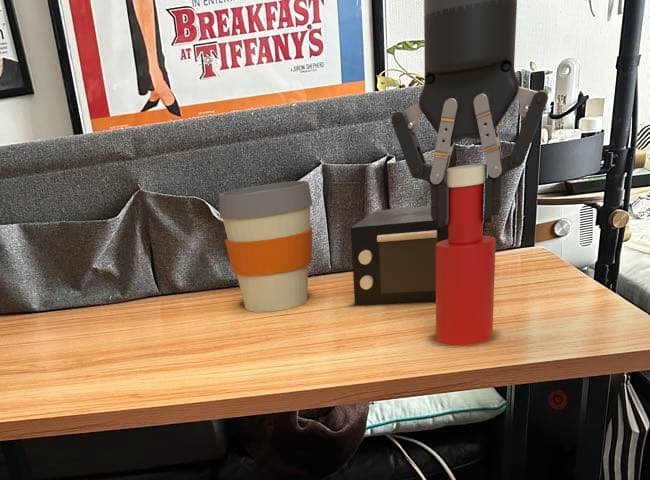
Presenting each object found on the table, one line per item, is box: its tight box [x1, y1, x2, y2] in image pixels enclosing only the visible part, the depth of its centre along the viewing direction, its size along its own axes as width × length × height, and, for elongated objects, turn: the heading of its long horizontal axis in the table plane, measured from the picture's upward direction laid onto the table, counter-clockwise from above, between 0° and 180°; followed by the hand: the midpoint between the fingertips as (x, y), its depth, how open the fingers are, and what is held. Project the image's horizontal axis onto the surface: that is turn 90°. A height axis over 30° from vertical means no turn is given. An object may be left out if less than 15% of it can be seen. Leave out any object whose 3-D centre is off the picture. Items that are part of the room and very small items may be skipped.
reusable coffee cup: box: [218, 180, 313, 313], centre depth 99 cm, size 12×13×15 cm
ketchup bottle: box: [435, 163, 497, 346], centre depth 71 cm, size 6×6×16 cm
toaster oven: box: [350, 204, 448, 307], centre depth 94 cm, size 12×15×10 cm
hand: (465, 222), depth 69 cm, fingers closed on ketchup bottle, 3 cm apart
